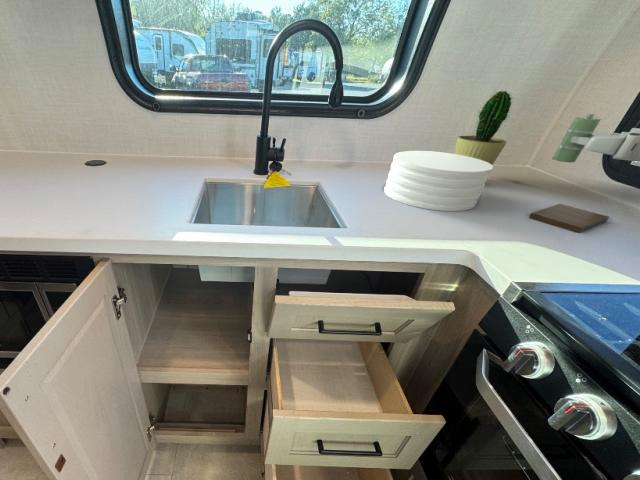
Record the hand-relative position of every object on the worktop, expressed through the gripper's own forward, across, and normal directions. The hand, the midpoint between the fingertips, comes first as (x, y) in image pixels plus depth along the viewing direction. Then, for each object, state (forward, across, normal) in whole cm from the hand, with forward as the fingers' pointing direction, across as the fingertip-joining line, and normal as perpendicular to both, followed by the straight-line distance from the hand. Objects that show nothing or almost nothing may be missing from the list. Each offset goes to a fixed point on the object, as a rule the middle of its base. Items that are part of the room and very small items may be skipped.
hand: (572, 137), depth 108 cm
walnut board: (-11, +35, +17) cm, 40 cm away
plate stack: (+25, +46, +17) cm, 55 cm away
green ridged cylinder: (-1, 0, +7) cm, 7 cm away
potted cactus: (+23, +14, +17) cm, 32 cm away
